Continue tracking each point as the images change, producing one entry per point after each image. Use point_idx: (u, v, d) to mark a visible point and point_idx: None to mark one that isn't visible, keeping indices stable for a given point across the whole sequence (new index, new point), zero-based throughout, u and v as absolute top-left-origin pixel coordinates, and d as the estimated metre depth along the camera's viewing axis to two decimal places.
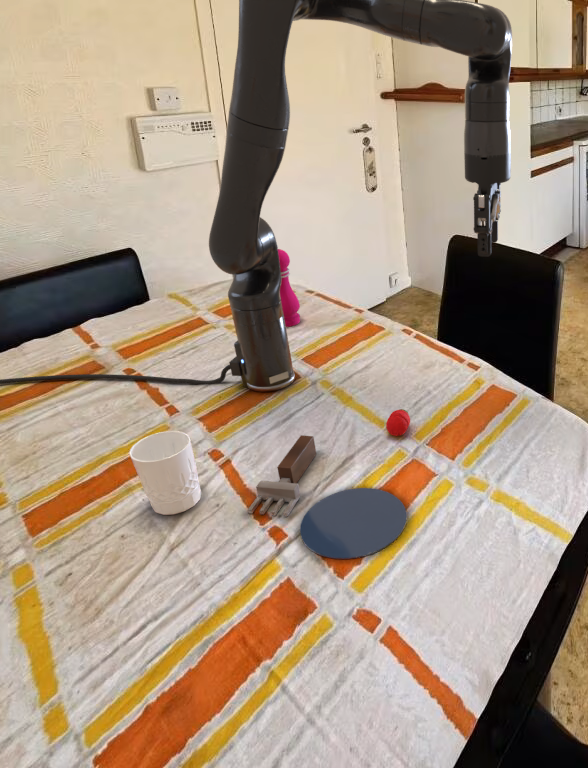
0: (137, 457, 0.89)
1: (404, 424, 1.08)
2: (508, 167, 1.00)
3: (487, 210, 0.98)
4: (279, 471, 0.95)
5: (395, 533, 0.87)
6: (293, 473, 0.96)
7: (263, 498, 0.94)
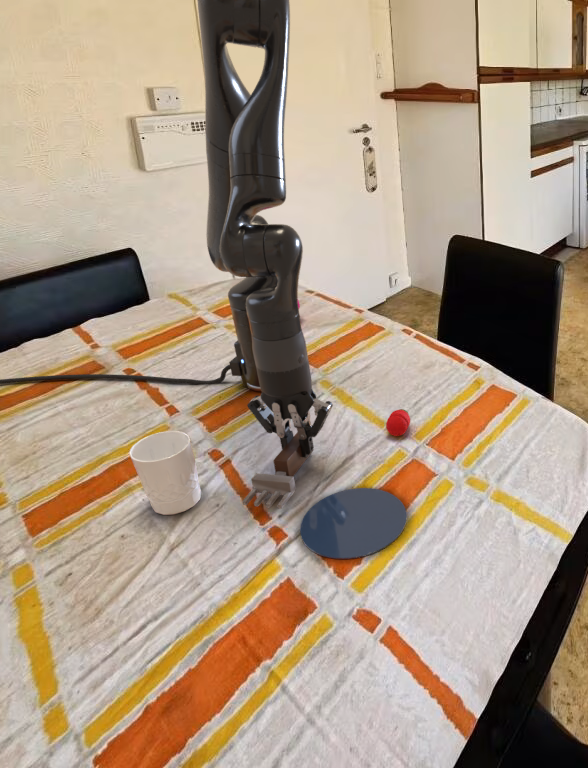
0: (137, 457, 0.89)
1: (404, 424, 1.08)
2: (266, 383, 0.91)
3: None
4: (275, 464, 0.95)
5: (395, 533, 0.87)
6: (289, 467, 0.95)
7: (258, 491, 0.93)
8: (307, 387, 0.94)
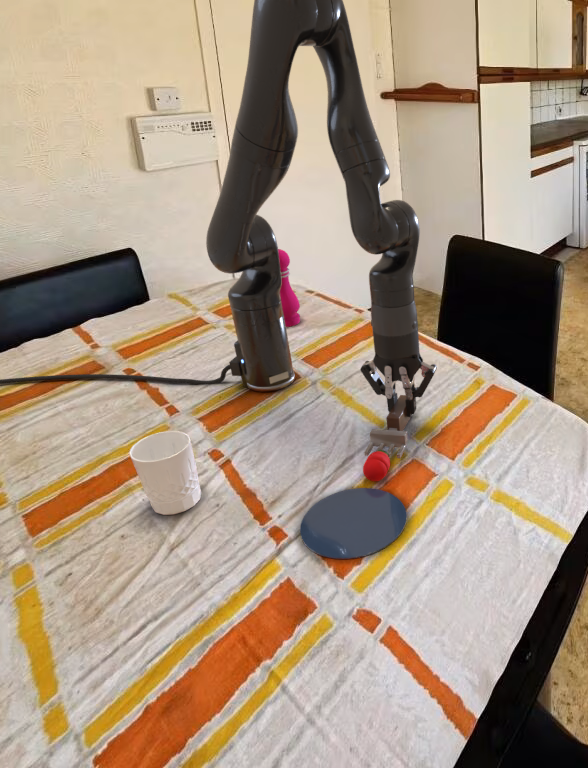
0: (137, 457, 0.89)
1: (382, 468, 0.96)
2: (383, 347, 1.02)
3: None
4: (388, 421, 1.06)
5: (395, 533, 0.87)
6: (399, 424, 1.06)
7: (375, 444, 1.04)
8: (417, 351, 1.05)
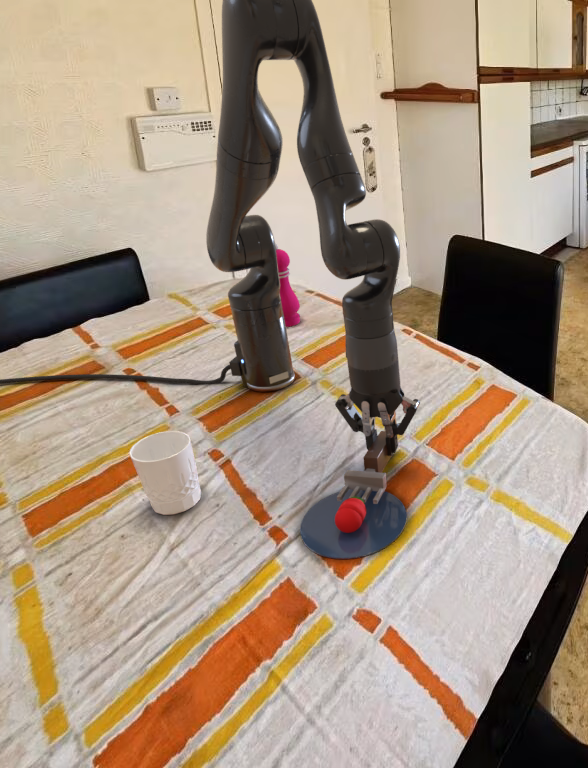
0: (137, 457, 0.89)
1: (356, 519, 0.86)
2: (359, 382, 0.91)
3: (342, 414, 0.98)
4: (365, 461, 0.95)
5: (395, 533, 0.87)
6: (378, 464, 0.96)
7: (350, 487, 0.93)
8: (397, 385, 0.94)
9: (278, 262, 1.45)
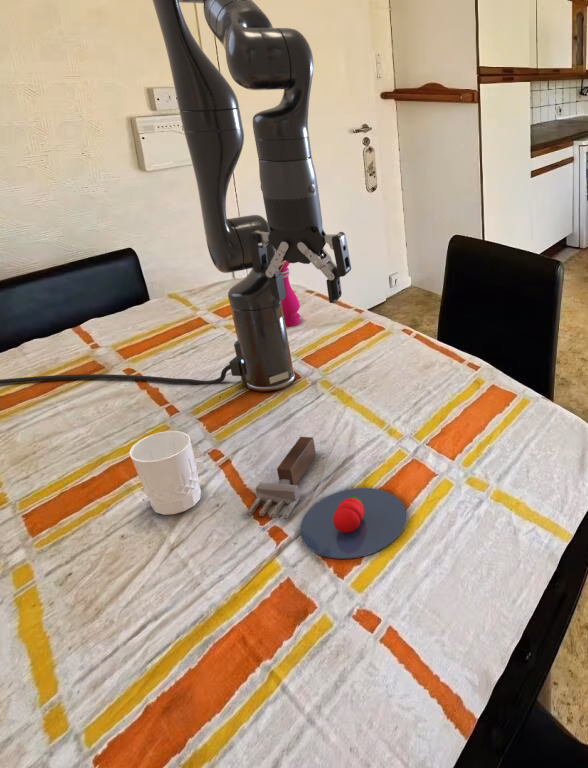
0: (137, 457, 0.89)
1: (353, 518, 0.86)
2: (274, 214, 0.85)
3: (251, 248, 0.91)
4: (279, 472, 0.95)
5: (395, 533, 0.87)
6: (292, 475, 0.96)
7: (263, 500, 0.93)
8: (318, 223, 0.88)
9: None
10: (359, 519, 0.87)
